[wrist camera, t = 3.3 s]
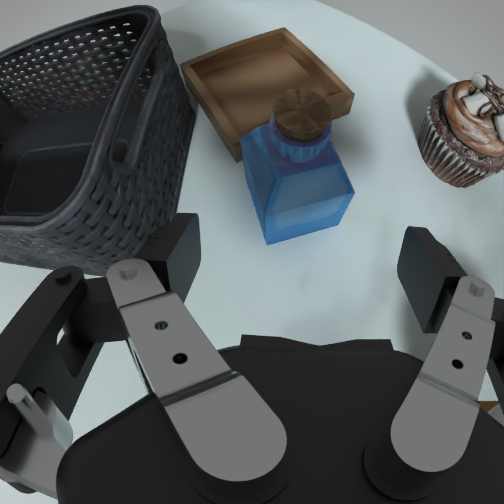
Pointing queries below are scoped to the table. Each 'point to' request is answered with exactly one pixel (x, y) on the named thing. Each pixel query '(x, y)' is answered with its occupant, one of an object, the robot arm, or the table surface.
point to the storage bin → (90, 142)
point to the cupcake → (465, 132)
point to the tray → (259, 83)
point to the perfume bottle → (296, 168)
